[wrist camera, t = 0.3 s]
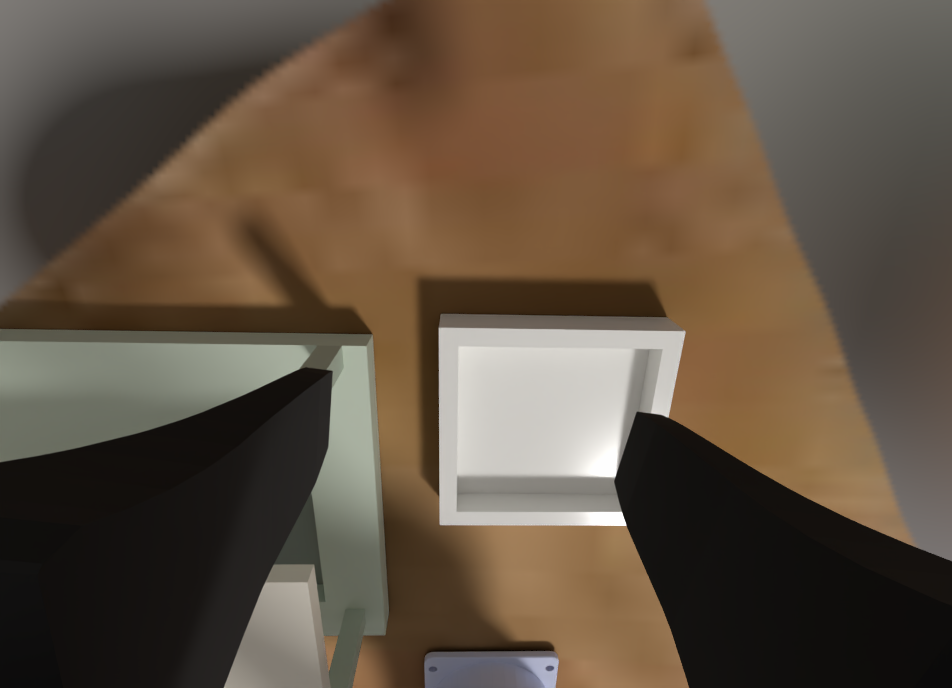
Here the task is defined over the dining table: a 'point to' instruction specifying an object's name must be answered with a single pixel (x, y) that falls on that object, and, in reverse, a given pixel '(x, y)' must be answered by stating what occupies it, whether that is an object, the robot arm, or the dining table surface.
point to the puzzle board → (199, 389)
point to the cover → (283, 635)
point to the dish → (545, 412)
